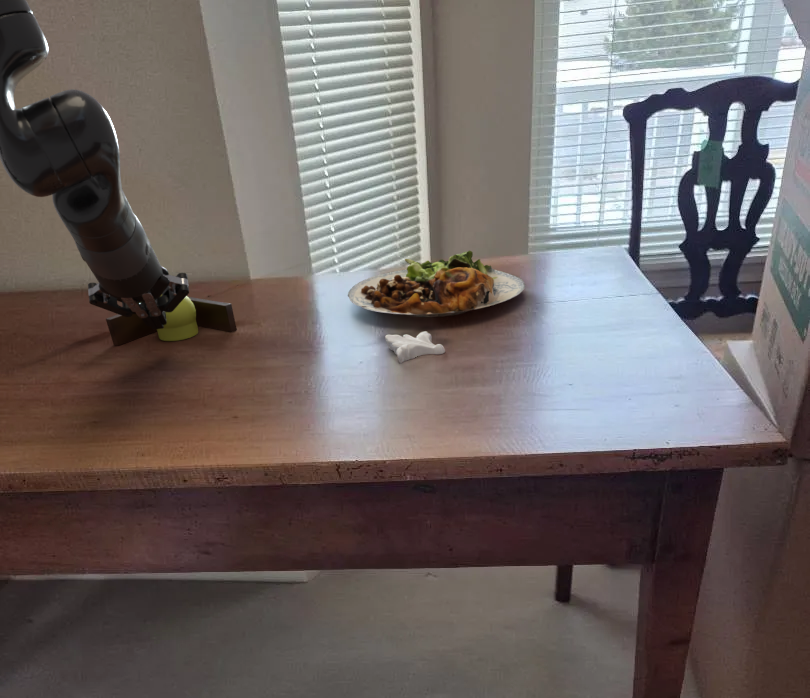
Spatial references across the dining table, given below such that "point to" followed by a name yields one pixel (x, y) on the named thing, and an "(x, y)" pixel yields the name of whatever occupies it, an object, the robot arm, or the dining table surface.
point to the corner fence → (134, 328)
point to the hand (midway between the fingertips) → (157, 322)
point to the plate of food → (436, 288)
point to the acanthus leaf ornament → (413, 346)
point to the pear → (180, 322)
